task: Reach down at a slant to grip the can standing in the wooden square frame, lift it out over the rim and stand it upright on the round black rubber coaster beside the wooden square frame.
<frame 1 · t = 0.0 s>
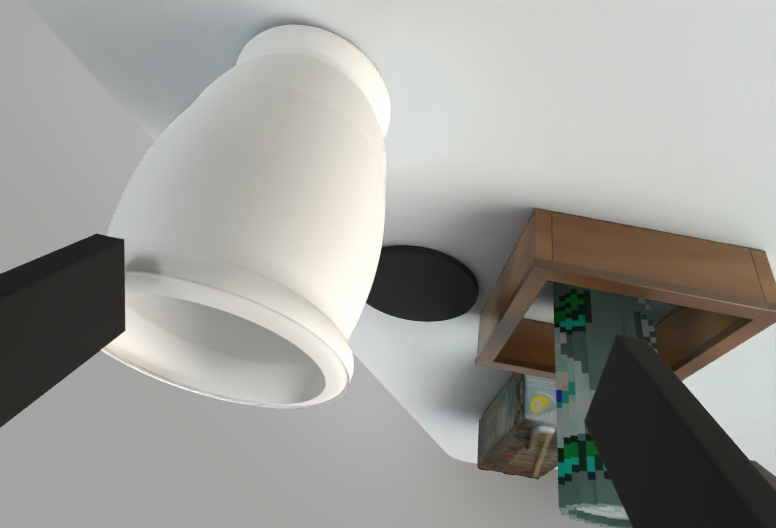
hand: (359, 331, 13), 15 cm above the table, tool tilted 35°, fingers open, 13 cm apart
coaster: (414, 284, 39), on the table
can: (598, 286, 36), resting in wooden square frame
jar: (315, 96, 26), on the table
wooden square frame: (598, 289, 35), on the table
beverage carton: (532, 395, 54), on the table
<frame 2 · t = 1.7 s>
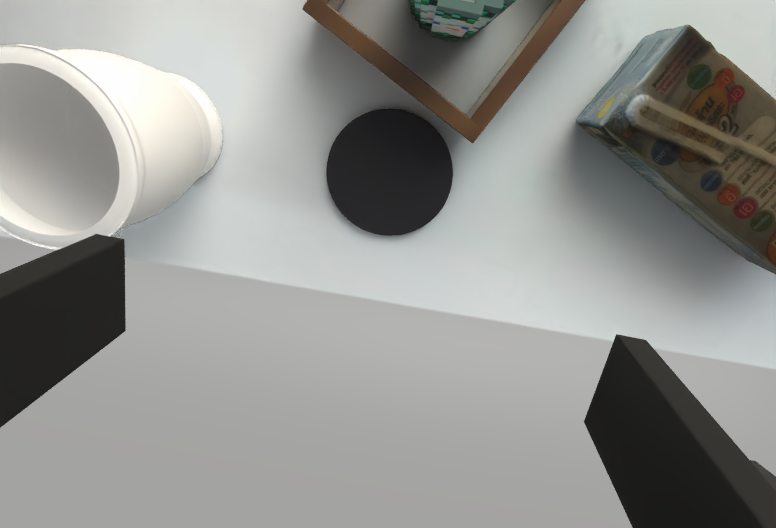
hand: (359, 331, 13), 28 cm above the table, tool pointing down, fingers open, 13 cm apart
coaster: (389, 173, 39), on the table
jar: (173, 128, 39), on the table
beverage carton: (697, 153, 38), on the table
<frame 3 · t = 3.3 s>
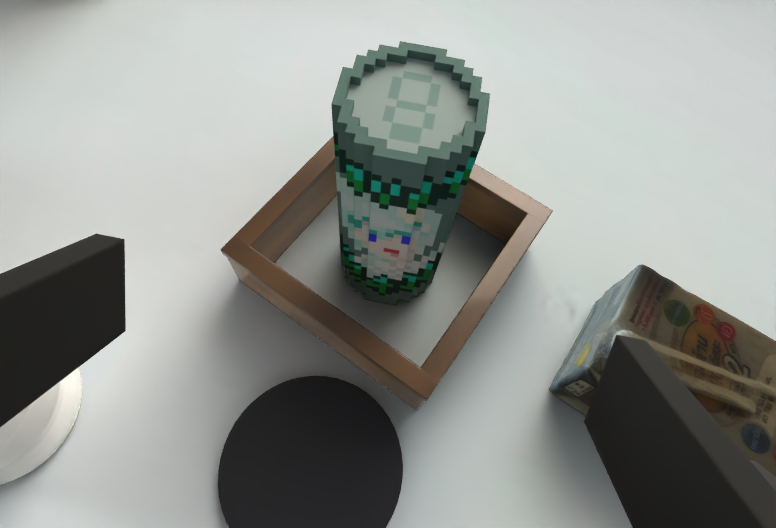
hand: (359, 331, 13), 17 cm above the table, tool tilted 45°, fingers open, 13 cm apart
coaster: (312, 467, 27), on the table
can: (388, 262, 33), resting in wooden square frame
jar: (9, 406, 28), on the table
wooden square frame: (389, 260, 33), on the table
beverage carton: (707, 431, 30), on the table
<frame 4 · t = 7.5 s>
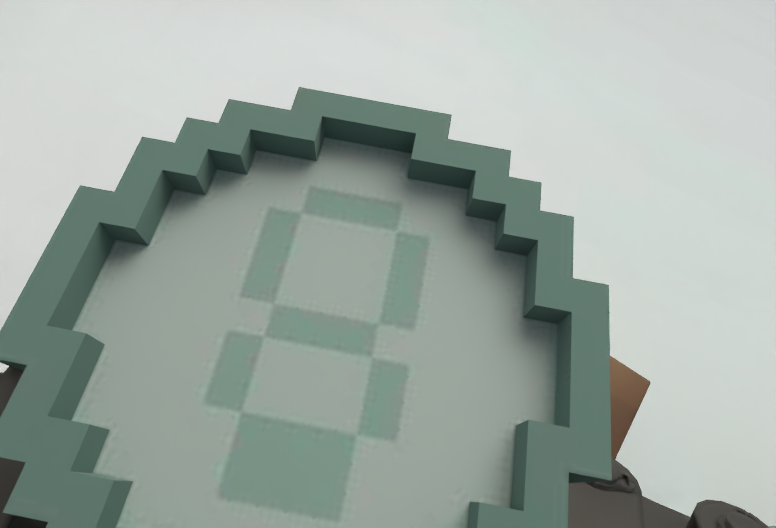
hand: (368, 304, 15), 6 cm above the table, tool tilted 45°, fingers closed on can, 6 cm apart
can: (345, 447, 19), resting in wooden square frame, touching gripper
wooden square frame: (346, 446, 19), on the table
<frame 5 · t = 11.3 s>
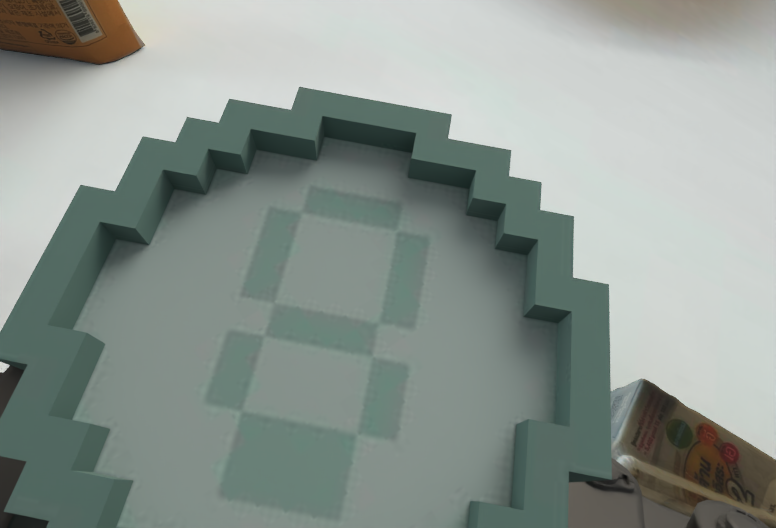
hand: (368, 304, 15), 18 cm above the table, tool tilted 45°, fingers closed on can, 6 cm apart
can: (346, 447, 19), point 12 cm above the table, touching gripper
pancake mix bag: (49, 44, 43), on the table
when the fingers open (7 cm above the table, at t = 15.6 s): can stays where it is, resting on coaster.
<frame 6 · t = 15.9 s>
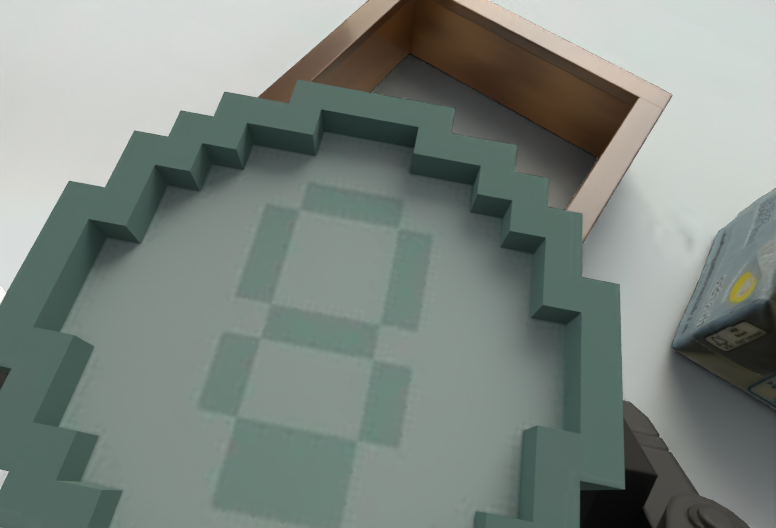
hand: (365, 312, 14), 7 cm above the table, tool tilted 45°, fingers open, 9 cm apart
can: (345, 448, 19), resting on coaster
wooden square frame: (440, 175, 25), on the table
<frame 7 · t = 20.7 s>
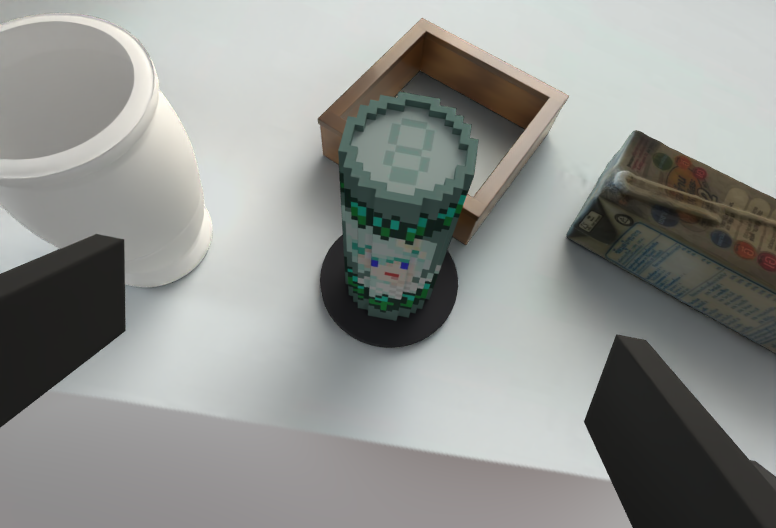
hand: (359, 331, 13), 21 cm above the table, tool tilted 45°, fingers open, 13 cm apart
coaster: (389, 281, 36), on the table
can: (389, 280, 36), resting on coaster
jar: (157, 238, 37), on the table
wooden square frame: (438, 143, 42), on the table
beverage carton: (689, 265, 38), on the table
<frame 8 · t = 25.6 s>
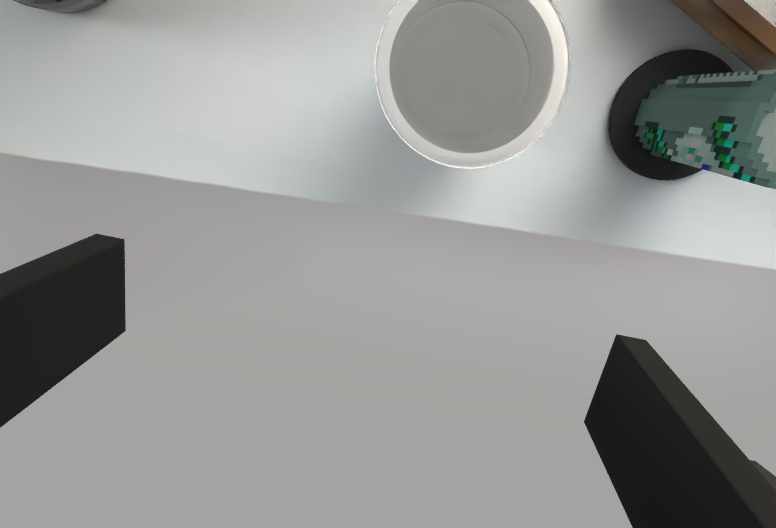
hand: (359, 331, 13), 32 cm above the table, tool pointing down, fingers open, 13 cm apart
coaster: (672, 117, 40), on the table
can: (674, 118, 39), resting on coaster
jar: (457, 78, 40), on the table
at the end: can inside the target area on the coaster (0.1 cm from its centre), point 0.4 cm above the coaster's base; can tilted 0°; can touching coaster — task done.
